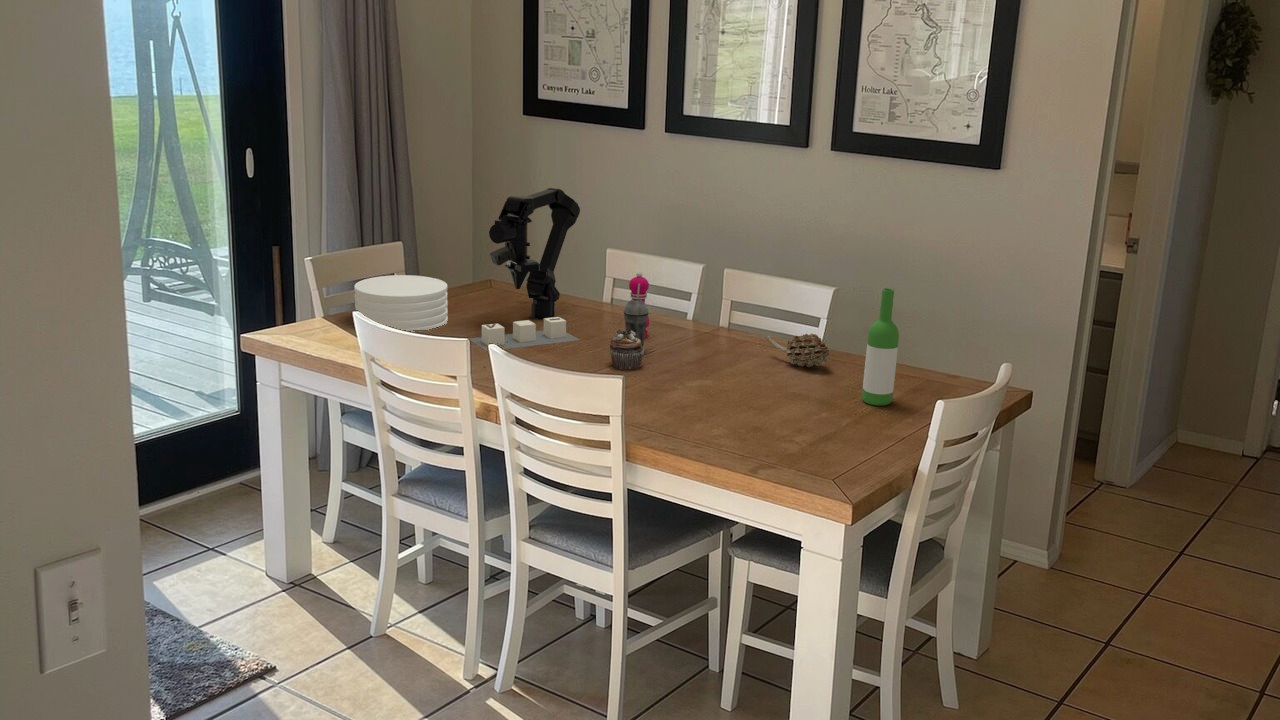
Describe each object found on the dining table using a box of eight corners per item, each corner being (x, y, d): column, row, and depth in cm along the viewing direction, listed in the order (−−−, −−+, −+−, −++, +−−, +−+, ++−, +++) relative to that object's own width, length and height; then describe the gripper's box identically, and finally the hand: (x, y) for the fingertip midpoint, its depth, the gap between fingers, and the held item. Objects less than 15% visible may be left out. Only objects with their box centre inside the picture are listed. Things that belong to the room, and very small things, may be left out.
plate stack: (438, 335, 345) (437, 298, 342) (345, 331, 345) (343, 293, 342) (455, 312, 372) (454, 277, 368) (368, 308, 372) (367, 273, 369)
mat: (559, 330, 355) (559, 328, 355) (580, 341, 343) (580, 339, 343) (467, 340, 340) (467, 338, 340) (486, 353, 328) (486, 351, 328)
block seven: (497, 339, 340) (497, 322, 338) (504, 344, 336) (504, 327, 334) (481, 341, 337) (481, 324, 336) (488, 346, 333) (488, 328, 332)
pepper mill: (649, 333, 355) (652, 270, 349) (647, 340, 348) (650, 275, 342) (626, 332, 356) (628, 268, 350) (623, 338, 349) (626, 273, 343)
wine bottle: (887, 397, 304) (899, 286, 295) (895, 407, 296) (907, 293, 288) (858, 396, 304) (869, 285, 295) (865, 406, 296) (876, 292, 287)
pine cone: (836, 369, 327) (839, 335, 324) (818, 376, 320) (821, 341, 317) (771, 352, 340) (773, 320, 337) (752, 359, 333) (755, 325, 330)
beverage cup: (617, 352, 334) (619, 284, 329) (629, 346, 341) (632, 280, 335) (639, 356, 331) (642, 288, 325) (651, 350, 337) (654, 283, 332)
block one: (558, 332, 350) (558, 316, 348) (565, 336, 346) (566, 320, 344) (543, 334, 347) (543, 317, 346) (550, 338, 343) (551, 321, 342)
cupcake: (614, 371, 317) (615, 336, 314) (605, 361, 326) (606, 326, 323) (647, 369, 319) (649, 335, 316) (638, 359, 328) (639, 325, 325)
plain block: (528, 336, 345) (528, 320, 343) (535, 340, 341) (535, 324, 339) (513, 338, 342) (513, 321, 341) (520, 342, 338) (520, 325, 337)
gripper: (480, 234, 352) (481, 284, 357) (506, 246, 337) (506, 298, 342) (513, 232, 358) (513, 281, 363) (540, 243, 343) (540, 294, 347)
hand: (517, 288), depth 353 cm, fingers closed
